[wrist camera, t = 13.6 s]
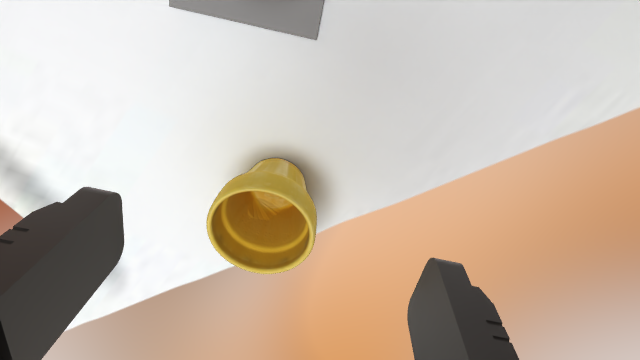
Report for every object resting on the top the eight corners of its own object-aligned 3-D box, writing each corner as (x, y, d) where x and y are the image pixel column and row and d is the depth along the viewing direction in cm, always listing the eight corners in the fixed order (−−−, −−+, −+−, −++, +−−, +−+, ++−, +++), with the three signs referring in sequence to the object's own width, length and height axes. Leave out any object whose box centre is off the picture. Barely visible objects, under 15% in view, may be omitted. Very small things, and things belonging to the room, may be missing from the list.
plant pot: (261, 231, 47) (243, 288, 38) (215, 164, 43) (183, 211, 34) (335, 202, 44) (333, 256, 36) (294, 128, 40) (280, 169, 31)
